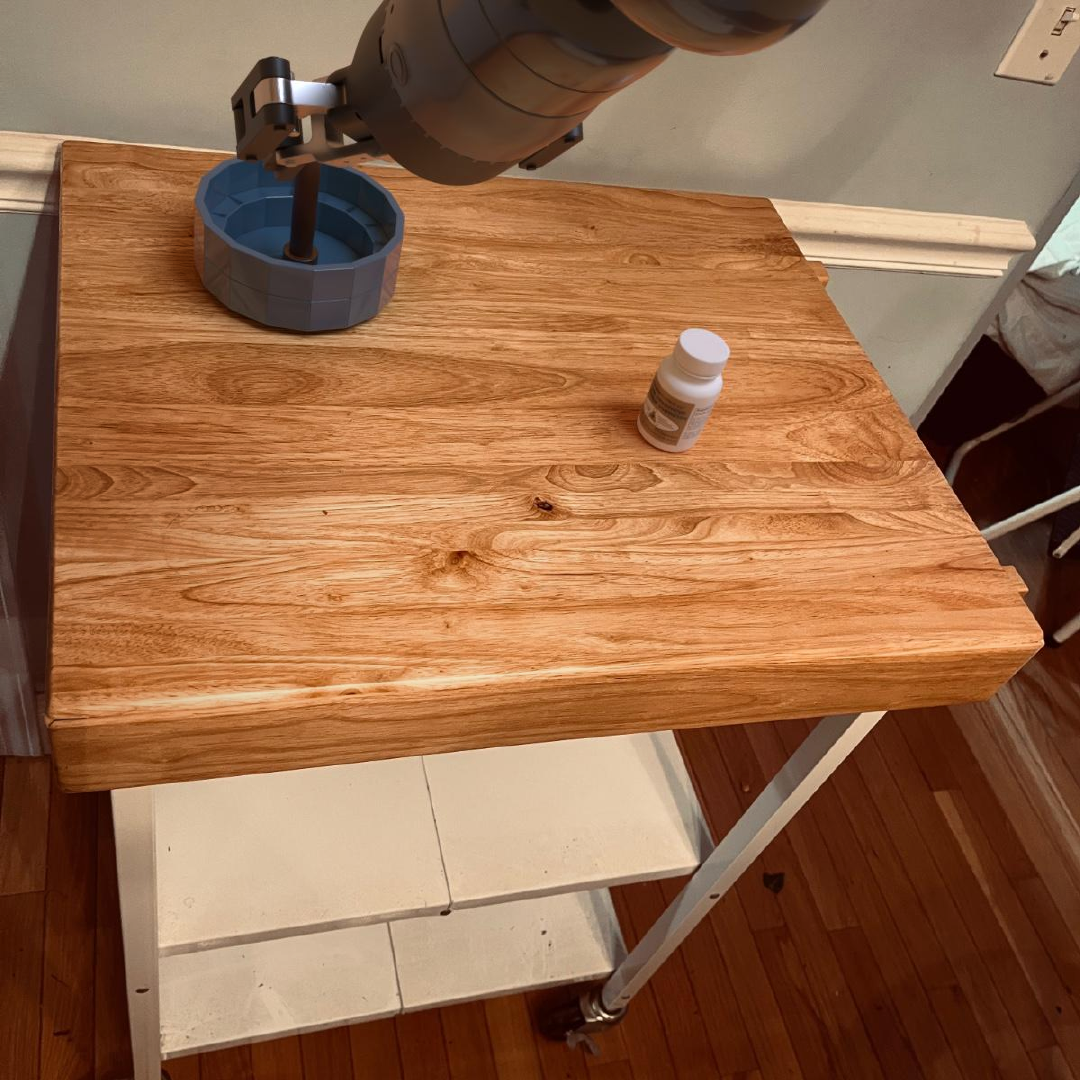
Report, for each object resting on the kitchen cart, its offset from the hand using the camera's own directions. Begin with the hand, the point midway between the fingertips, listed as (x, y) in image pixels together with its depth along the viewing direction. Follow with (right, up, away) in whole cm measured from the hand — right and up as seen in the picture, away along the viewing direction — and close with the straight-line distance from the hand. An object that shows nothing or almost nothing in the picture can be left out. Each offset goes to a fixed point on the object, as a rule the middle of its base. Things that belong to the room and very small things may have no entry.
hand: (366, 161), depth 52 cm
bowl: (-9, 0, +23) cm, 25 cm away
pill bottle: (+17, -11, +22) cm, 30 cm away
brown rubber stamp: (-8, 0, +23) cm, 24 cm away
